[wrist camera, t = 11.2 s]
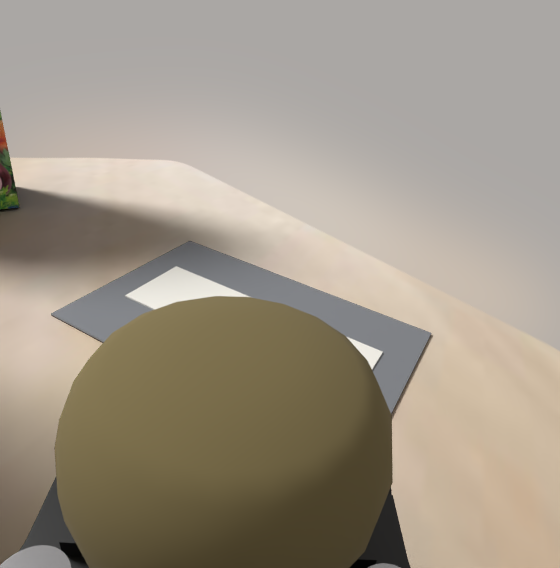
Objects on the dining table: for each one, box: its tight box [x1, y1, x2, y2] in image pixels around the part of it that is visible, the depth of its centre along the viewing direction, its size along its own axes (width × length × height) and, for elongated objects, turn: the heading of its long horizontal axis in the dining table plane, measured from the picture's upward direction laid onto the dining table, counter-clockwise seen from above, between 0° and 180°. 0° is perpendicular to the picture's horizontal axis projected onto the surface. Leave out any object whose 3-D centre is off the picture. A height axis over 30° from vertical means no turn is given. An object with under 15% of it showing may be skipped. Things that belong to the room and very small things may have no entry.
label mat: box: [51, 241, 431, 413], centre depth 29 cm, size 20×13×1 cm, turn 60°
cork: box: [55, 296, 392, 568], centre depth 10 cm, size 6×6×11 cm
